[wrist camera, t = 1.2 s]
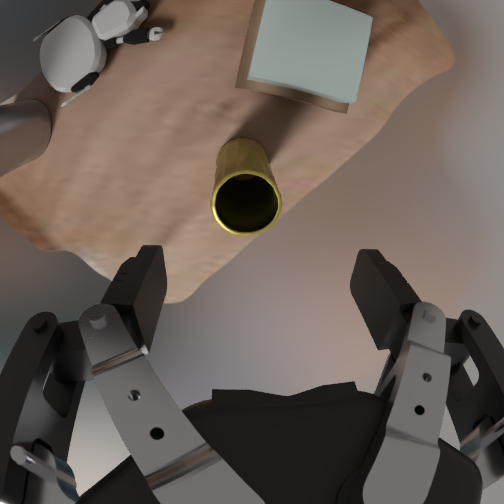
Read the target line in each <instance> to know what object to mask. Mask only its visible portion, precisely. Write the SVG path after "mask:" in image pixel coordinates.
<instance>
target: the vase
mask: <svg viewBox="0 0 504 504" xmlns="http://www.w3.org/2000/svg"><path fill="white" fill-rule="evenodd" d="M216 164H217V168H216V174H215V184H214V189H213V193H212V198H211V201H210V206H211V210H212V213H213V215H214V218H215V219H216V221H217V223H218V224H219V225H220V226H221V227H222V228H223V229H225V230H226V231H228V232H230V233H232V234H234V235H238V236H252V235H256V234H259V233H262V232H264V231H266V230H268V229H269V228H270V227H271V226H272V225H273V224H274V223H275V222H276V220H277V219H278V216H279V214H280V212H281V208H282V199H281V194H280V192H279V190H278V187H277V184H276V182H275V179H274V176H273V173H272V171H271V168H270V165H269V162H268V157H267V154H266V152H265V150H264V149H263V147H262V146H261V145H260V144H259V143H258V142H256V141H254V140H252V139H248V138H237V139H234V140H231V141H229V142H227V143H226V144H225V145H224V146H223V147H222V148H221V149H220V151H219V153H218V156H217V161H216Z"/></svg>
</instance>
